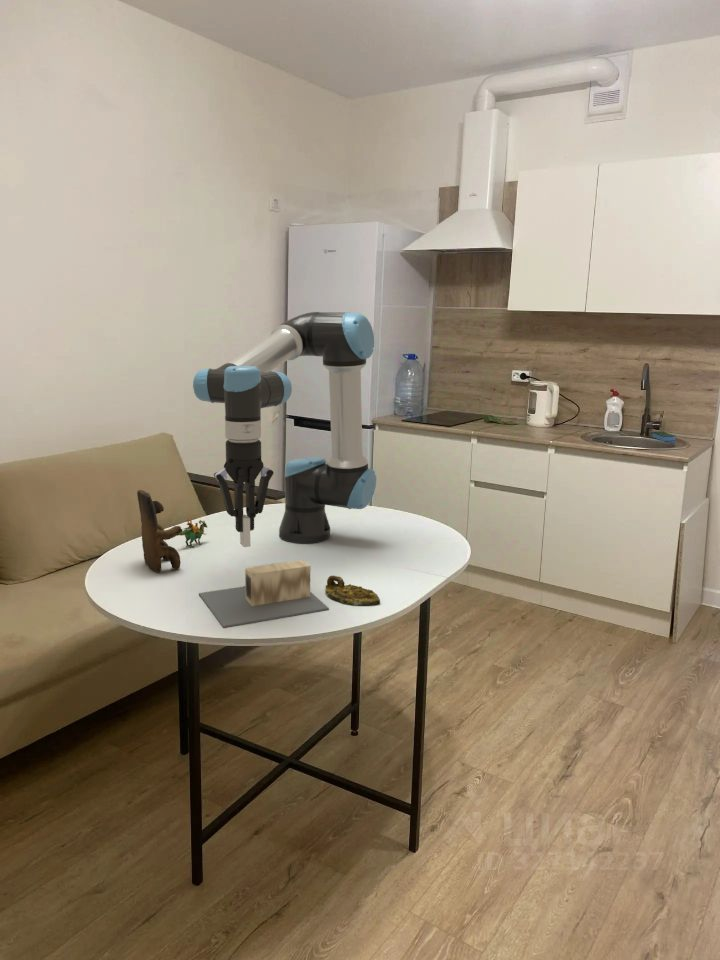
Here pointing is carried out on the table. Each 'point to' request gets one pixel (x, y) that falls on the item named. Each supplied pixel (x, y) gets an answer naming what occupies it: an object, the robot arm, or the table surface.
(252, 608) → the rubber mat
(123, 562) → the table surface
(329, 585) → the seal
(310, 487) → the robot arm
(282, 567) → the beech block
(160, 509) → the figurine
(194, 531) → the figurine
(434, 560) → the table surface
